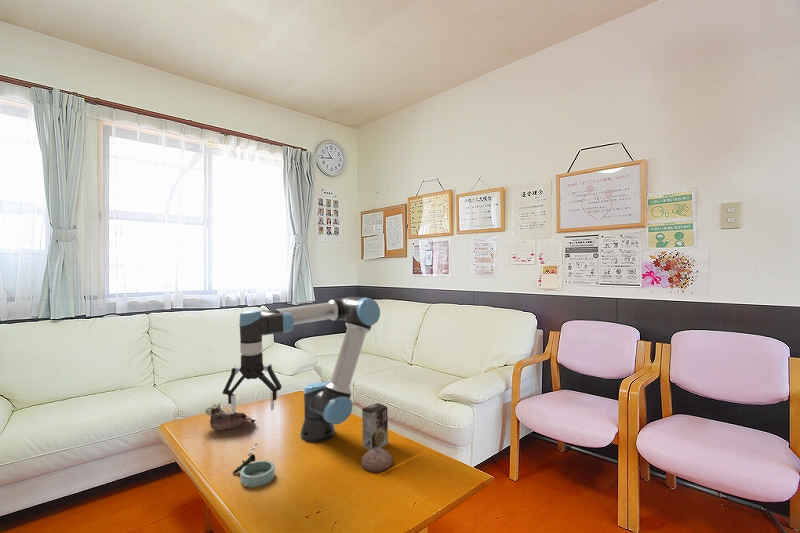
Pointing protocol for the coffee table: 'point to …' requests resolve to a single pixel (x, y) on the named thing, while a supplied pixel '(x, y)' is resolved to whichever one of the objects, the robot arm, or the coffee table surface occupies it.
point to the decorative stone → (377, 460)
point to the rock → (225, 418)
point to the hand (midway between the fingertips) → (253, 410)
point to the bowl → (257, 473)
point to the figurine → (250, 459)
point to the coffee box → (375, 426)
